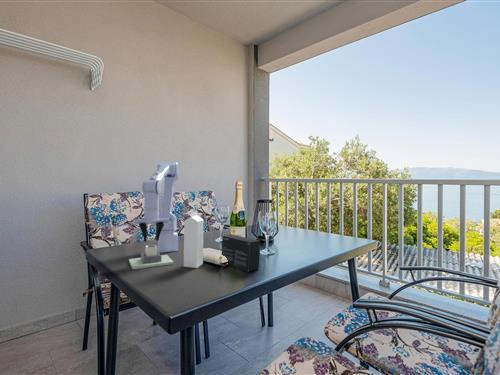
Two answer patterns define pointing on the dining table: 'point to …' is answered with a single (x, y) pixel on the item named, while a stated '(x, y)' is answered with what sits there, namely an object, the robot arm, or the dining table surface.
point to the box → (241, 252)
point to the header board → (150, 261)
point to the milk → (193, 241)
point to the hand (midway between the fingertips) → (151, 240)
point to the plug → (150, 250)
